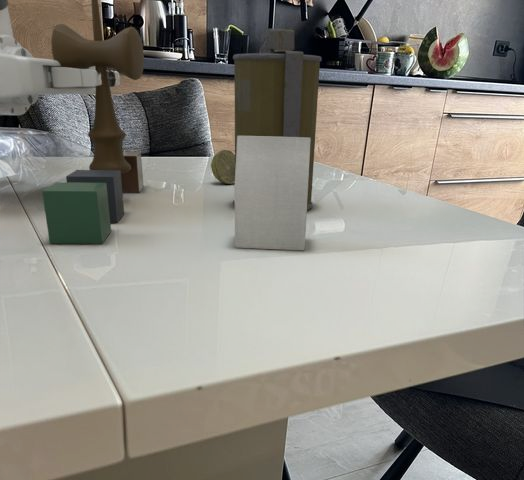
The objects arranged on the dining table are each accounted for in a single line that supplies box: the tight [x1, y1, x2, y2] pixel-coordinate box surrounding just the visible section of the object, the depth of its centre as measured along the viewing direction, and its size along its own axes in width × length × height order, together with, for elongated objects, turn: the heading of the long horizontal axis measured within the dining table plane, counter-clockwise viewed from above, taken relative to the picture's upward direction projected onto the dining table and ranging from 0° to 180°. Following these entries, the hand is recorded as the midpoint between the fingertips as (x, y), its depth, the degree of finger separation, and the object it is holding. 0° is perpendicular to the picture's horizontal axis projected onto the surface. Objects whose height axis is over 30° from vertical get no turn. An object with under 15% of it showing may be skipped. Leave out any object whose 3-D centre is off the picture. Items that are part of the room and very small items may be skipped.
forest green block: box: [41, 181, 112, 245], centre depth 54 cm, size 5×5×5 cm
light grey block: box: [234, 136, 311, 251], centre depth 52 cm, size 4×7×10 cm, turn 85°
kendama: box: [50, 0, 145, 174], centre depth 66 cm, size 6×10×20 cm, turn 82°
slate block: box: [65, 169, 125, 224], centre depth 62 cm, size 5×5×5 cm
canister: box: [232, 28, 323, 211], centre depth 67 cm, size 11×10×20 cm
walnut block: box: [121, 151, 144, 194], centre depth 79 cm, size 5×5×5 cm
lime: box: [210, 149, 235, 185], centre depth 86 cm, size 4×5×5 cm
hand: (108, 78), depth 65 cm, fingers closed on kendama, 4 cm apart
